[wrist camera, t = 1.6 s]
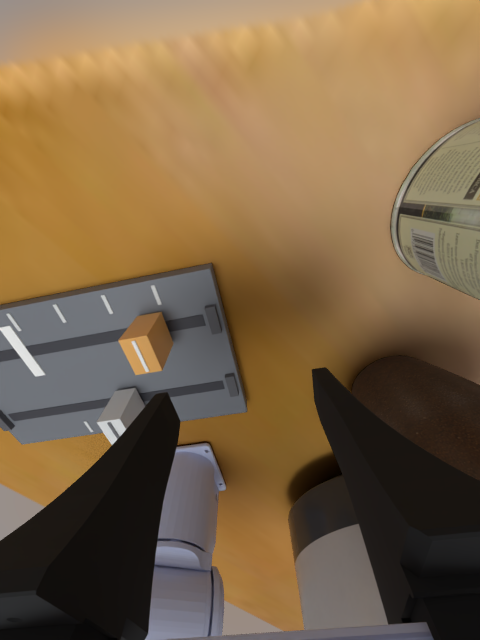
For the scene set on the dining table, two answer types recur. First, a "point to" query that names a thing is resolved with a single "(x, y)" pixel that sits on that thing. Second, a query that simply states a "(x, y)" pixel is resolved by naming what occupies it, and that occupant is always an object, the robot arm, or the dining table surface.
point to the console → (114, 354)
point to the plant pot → (426, 408)
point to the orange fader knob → (147, 343)
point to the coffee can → (443, 212)
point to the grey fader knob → (120, 413)
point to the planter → (332, 561)
